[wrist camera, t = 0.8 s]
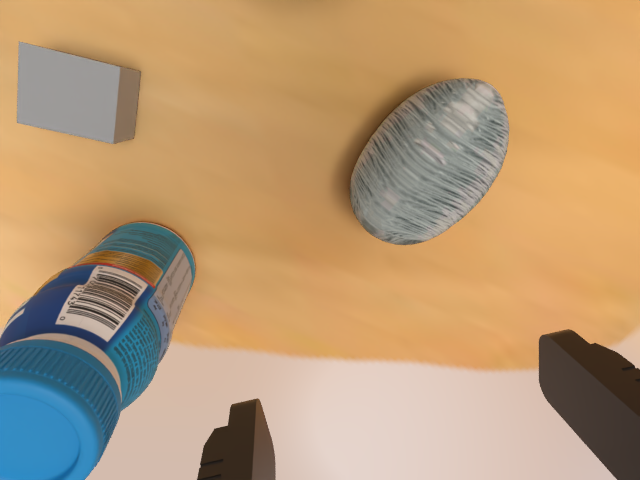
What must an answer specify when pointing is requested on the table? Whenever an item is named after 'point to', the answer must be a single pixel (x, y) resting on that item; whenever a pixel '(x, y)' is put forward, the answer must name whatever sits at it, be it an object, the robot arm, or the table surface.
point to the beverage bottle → (88, 351)
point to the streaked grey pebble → (430, 161)
